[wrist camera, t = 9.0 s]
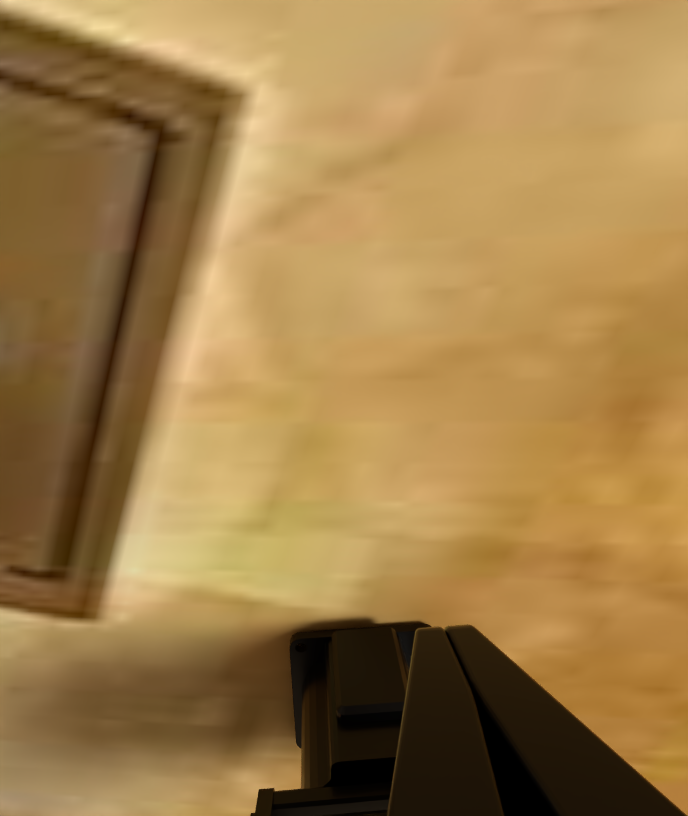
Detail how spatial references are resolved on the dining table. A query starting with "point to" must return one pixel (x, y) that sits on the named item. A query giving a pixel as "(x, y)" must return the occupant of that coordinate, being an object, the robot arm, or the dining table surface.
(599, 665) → the dining table surface
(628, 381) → the dining table surface
